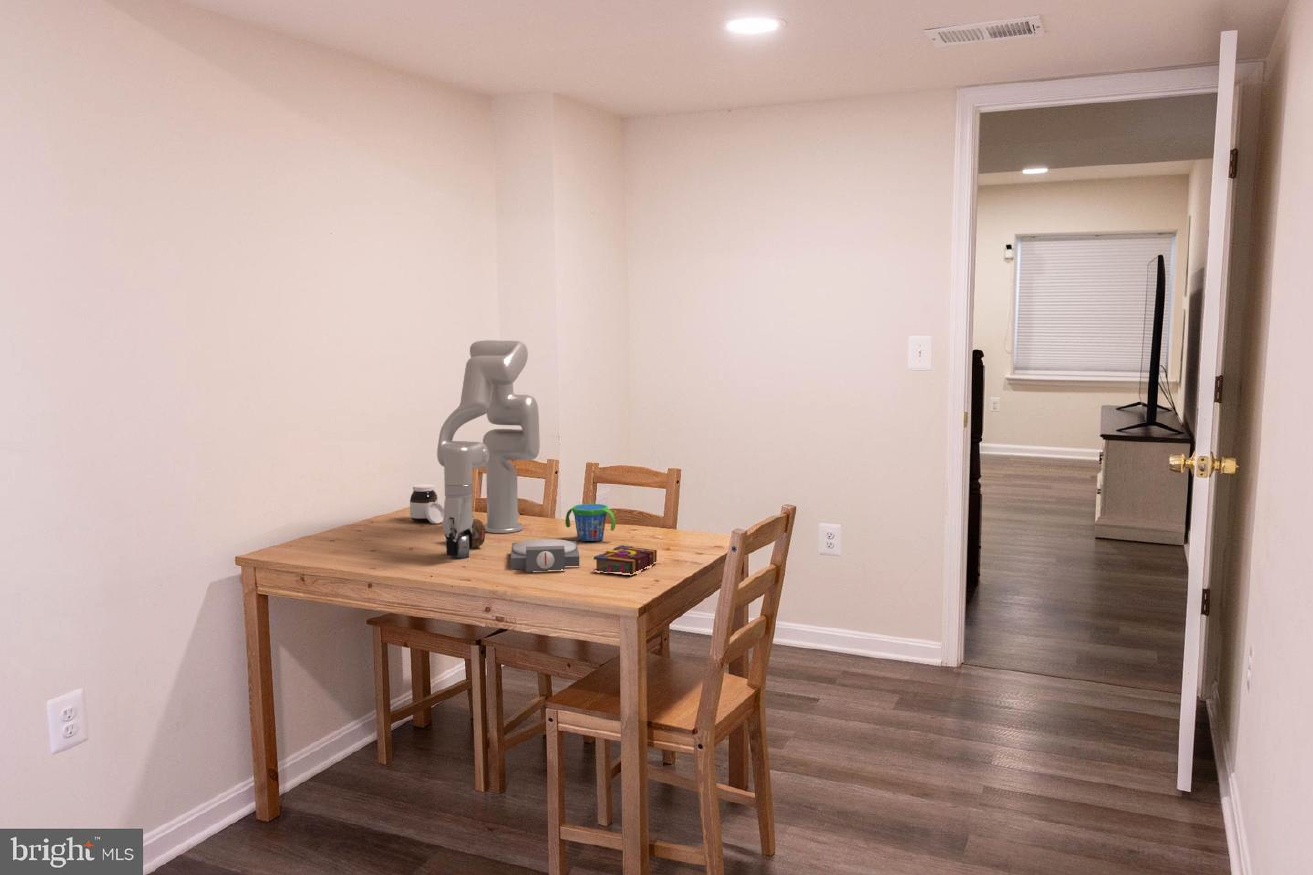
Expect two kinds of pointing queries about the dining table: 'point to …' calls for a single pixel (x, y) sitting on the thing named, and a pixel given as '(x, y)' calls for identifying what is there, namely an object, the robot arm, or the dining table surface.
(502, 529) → the robot arm
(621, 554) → the decorative book
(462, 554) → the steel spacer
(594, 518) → the snack cup
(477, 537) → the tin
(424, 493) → the spread jar
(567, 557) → the scale
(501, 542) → the dining table surface
